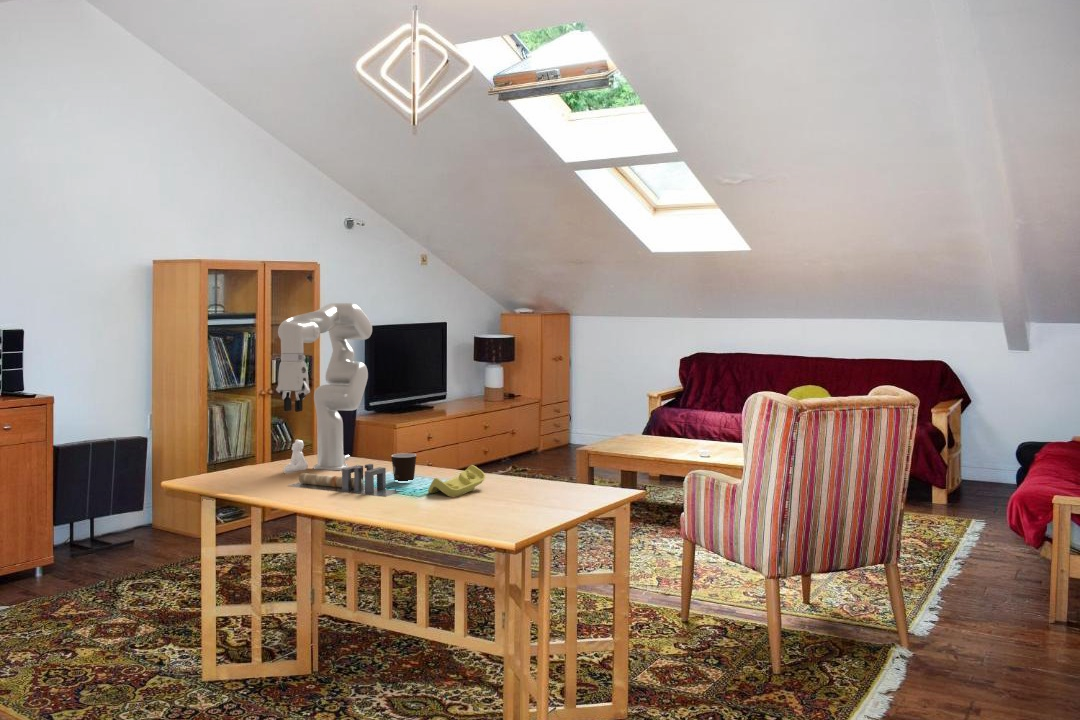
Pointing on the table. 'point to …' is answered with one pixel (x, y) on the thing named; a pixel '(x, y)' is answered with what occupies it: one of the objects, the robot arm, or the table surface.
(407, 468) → the coffee mug
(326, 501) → the table surface
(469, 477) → the plastic component
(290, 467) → the white creature statuette
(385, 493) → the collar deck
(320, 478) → the dowel
